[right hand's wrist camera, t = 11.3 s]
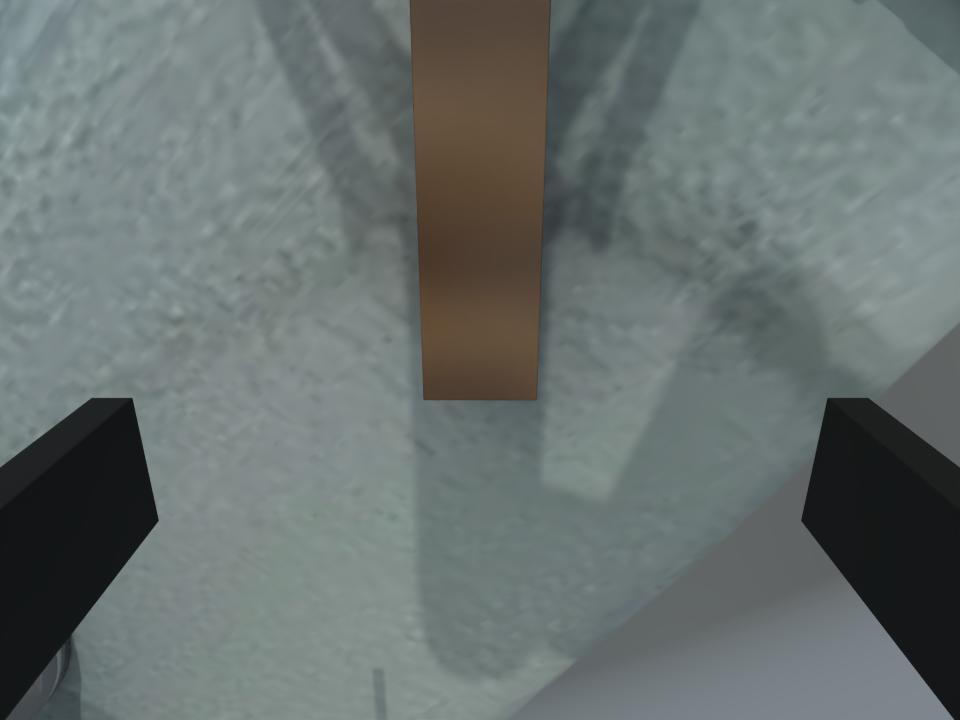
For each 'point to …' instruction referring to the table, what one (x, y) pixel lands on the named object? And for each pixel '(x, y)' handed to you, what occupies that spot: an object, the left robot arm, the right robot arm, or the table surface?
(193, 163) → the table surface
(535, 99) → the post
